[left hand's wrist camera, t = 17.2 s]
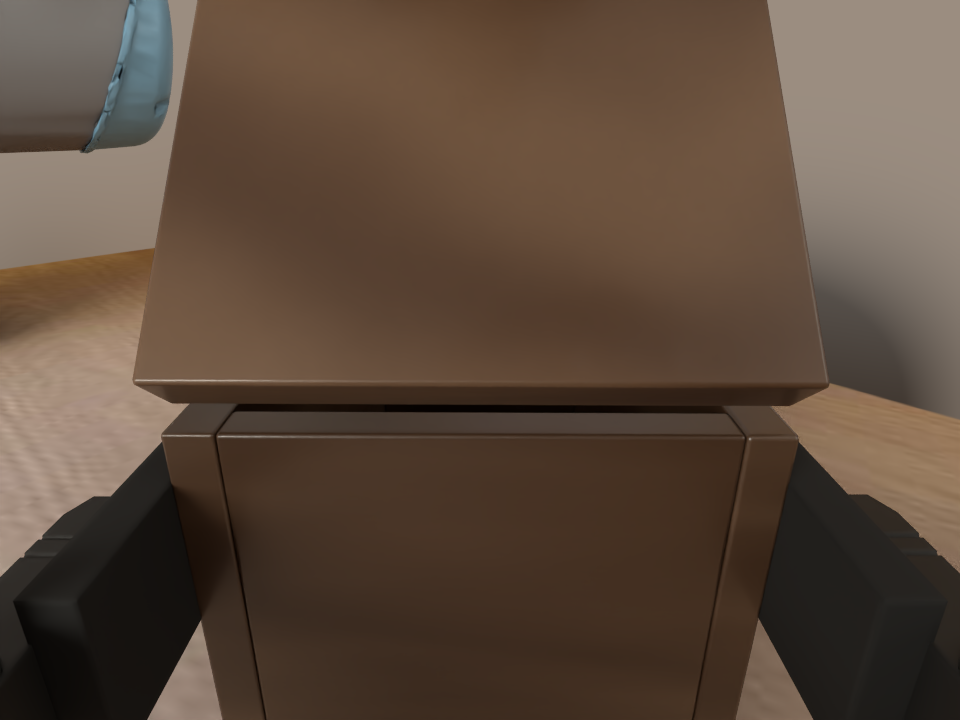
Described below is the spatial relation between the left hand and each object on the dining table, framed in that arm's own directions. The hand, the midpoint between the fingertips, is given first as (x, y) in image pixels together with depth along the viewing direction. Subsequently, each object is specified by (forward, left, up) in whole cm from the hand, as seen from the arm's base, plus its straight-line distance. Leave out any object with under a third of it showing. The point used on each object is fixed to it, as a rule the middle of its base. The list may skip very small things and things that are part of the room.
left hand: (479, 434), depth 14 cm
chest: (+3, -2, -7) cm, 8 cm away
